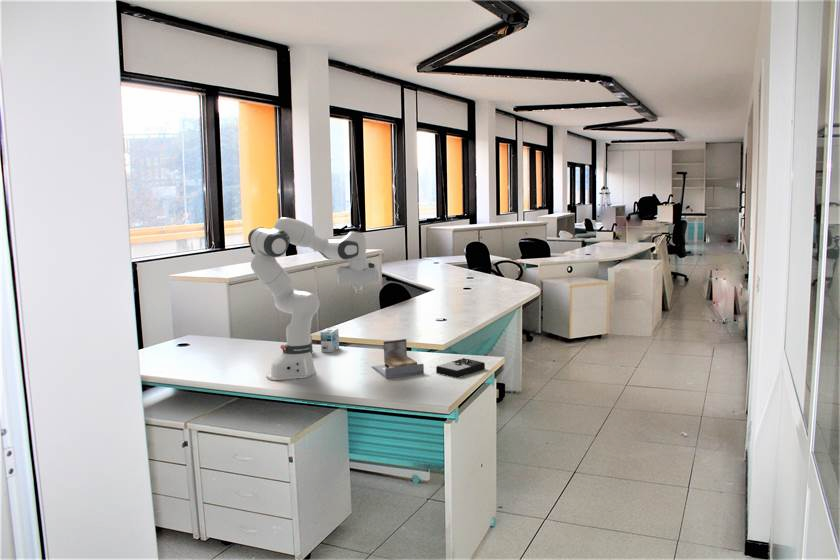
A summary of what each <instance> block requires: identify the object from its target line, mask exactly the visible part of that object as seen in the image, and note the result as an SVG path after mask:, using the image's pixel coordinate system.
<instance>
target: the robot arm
mask: <svg viewBox="0 0 840 560" xmlns="http://www.w3.org/2000/svg"><path fill="white" fill-rule="evenodd" d="M247 236H248V237H247V240H248V245H249V247H250V251H251V253H252V254H253V255H254V257H253V258H252V259H251V262H250V267H251V269H252V272H253V273H254V275H255V276H256V277H257V278H258V280H259V281H260V283H262V285H264V287H265V288H266V289H267V290H268V291H269V293H271V295H272V296H273V304H274V306H275V308H276V309H277V310H278V311H281V312H283V313H285V314H291V321H290V323H289V324H287V326H286V328H285V336H286V338H285V339H286V344H283V343H282V344H280V347H279V348H281V350H282V353H281V354H280V355H279V356H278V357H276V358H275V359H274V360H273V361H272V363H271V368H270V369H271V370H269V371H267V372H266V378H267V379H268V380H270V381H283V380H284V381H286V380H294V379H296V378H299V379H306V377H307V378H309V377H310V376H313V375H315V374H316V373H317V371H316V367H315V365H314V360H313V353H314V352H313V342H312V343H311V336H312V335H311V334H312V333H311V328H312V320H313V318H314V316H315V314H316V313H317V312H318V311H319V308H320V303H321V302H320V299H319V297H318V296H317V295H316V294H314V293H312V292H309V291H304V290H298V289H296V288H294V286H293V285H292V281H293V280H292V277H291V276H290V275H289V274H288V272H287V271H286V270H285V269H284V268H283V266H282V265H281V264H280V263H279V262H278V261H277V259H276V258H278V257H282V256H283V255H285V253H286V251H287V250H288V247H289V245H290V244H291V245H294V246H296V247H302V248H310V249H312V250H314V251H316V252H318V253H319V254H320V255H321V256H322V257H323V258H324V259H327V260H342V261H347V260H348V263H347V264H348V265H340V266H338V267H337V269H336V274H337V284H338V285H339V286H349V285H350V286H352V287H353V289H354V290H355V294H363V289H364V288H365V284H376V283H377V284H378V283H379V281H380V276H379V271H378V269H377V263H375V262H371V261H367V258H368V257H367V254H366V252H367V241H366V236H365V234H364V233H363V232H362V231H354V230H352V231H351V230H350V231H349V232H348V233H347V234H346V235H345V236H344V237H342V238H340V239H339V238H337V239H336V238H322V237H319V236H317V235H316V230H315V228H314V227H313V226H311V225H310V224H308V223H307V222H305V221H302V220H299V219H296V218H295V219H294V218H291V217H283V216H282V217H280V218H278V219H277V220H276V222H275V224H274V227H273V228H271V229H270V228H265V227H255V228H253V229H251V231H250V232H249V233H248V235H247ZM358 285H359V286H360V288H357V286H358ZM312 352H313V353H312ZM296 380H297V379H296Z"/></svg>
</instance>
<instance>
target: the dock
mask: <svg viewBox="0 0 840 560" xmlns="http://www.w3.org/2000/svg"><path fill="white" fill-rule="evenodd" d="M370 368H371V369H373V370H374V371H375V372H377V373H378V374H379V375H380V376H382V377H383V378H384V379H386V380H387V379H395V378H400V377H408V376H409V375H410V376H416V374H417V375H424V374H423V373H425V372H424V371H425V369H424V363H417V364H415V365H407V366H400V367H390V366H389V367H388V368H387V367H385V364H382V365H381V364H380V365H372V366H370Z"/></svg>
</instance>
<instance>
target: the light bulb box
mask: <svg viewBox="0 0 840 560" xmlns="http://www.w3.org/2000/svg"><path fill="white" fill-rule="evenodd" d="M339 337H340V335H339V328H334V327H333V328H330V327H326V328H325V329H324V330H323V329H322V331H320V346H321V348H320V351H321V353H334V352H335V351H337V350H338V349H340V339H339Z"/></svg>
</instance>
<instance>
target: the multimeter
mask: <svg viewBox="0 0 840 560" xmlns="http://www.w3.org/2000/svg"><path fill="white" fill-rule="evenodd" d="M485 369H486V363H485V362H483V361H478V360H473V359H469V358H464V357H463V358H461V359H459V358H458V359H457V360H453V361H449V362H446V363H443V364H440V365H439V364H438V365H436V367H435V371H436V374H438V373H440V374H439V375H442V374H444V375H443V376H447V375H448V376H449V377H451V376H452V378H455V377H456V379H458V377H459V378H461V376H462V377H465V376H468V375H472V374H474V373H476V372H481V371H483V370H485ZM448 376H447V377H448Z"/></svg>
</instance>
